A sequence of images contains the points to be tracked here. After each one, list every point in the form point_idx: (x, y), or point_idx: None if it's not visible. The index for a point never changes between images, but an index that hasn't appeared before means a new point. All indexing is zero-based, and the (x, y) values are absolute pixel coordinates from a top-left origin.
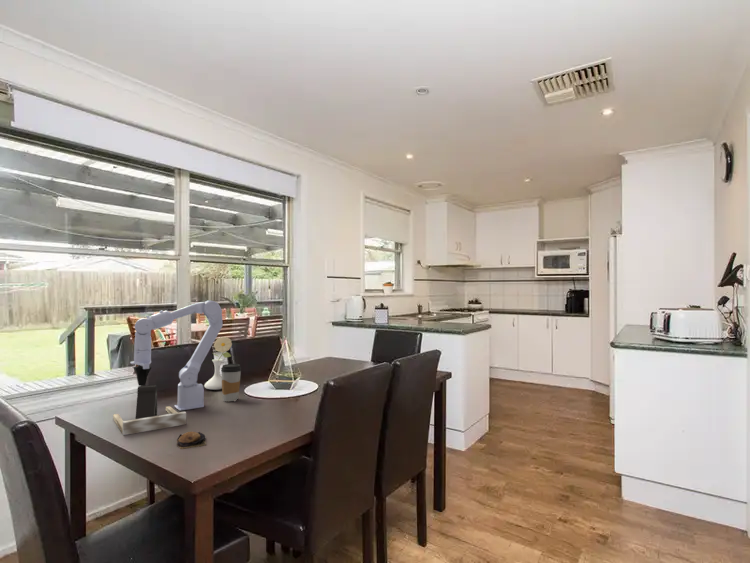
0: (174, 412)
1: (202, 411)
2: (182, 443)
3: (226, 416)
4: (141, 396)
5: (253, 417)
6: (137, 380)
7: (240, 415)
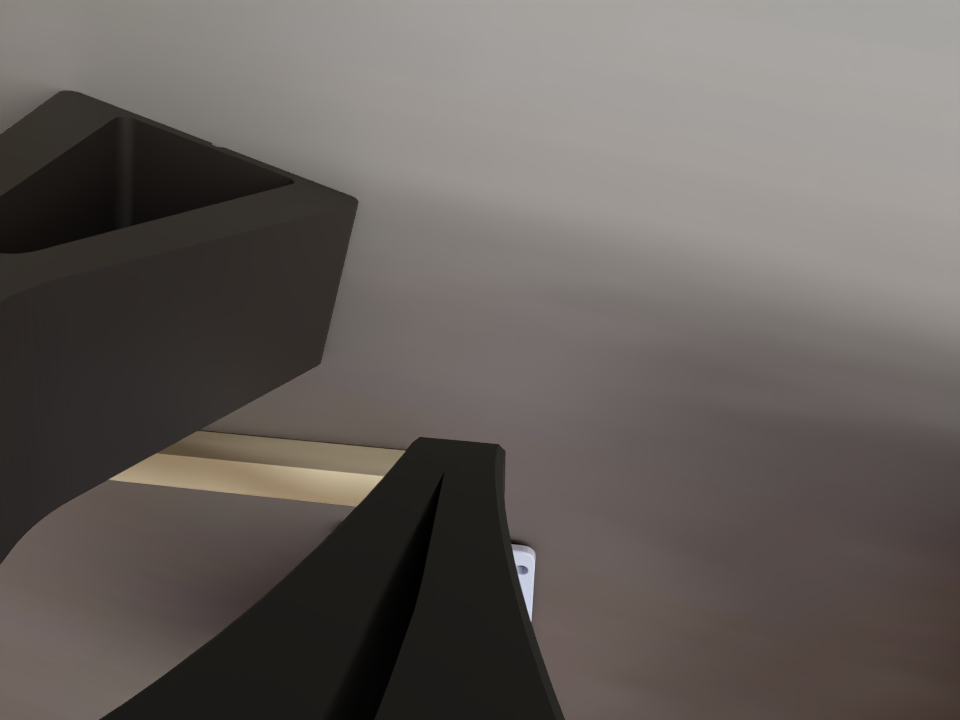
0: (162, 468)
1: None
2: None
3: (67, 650)
4: None
5: (6, 710)
6: (481, 512)
7: (66, 695)
